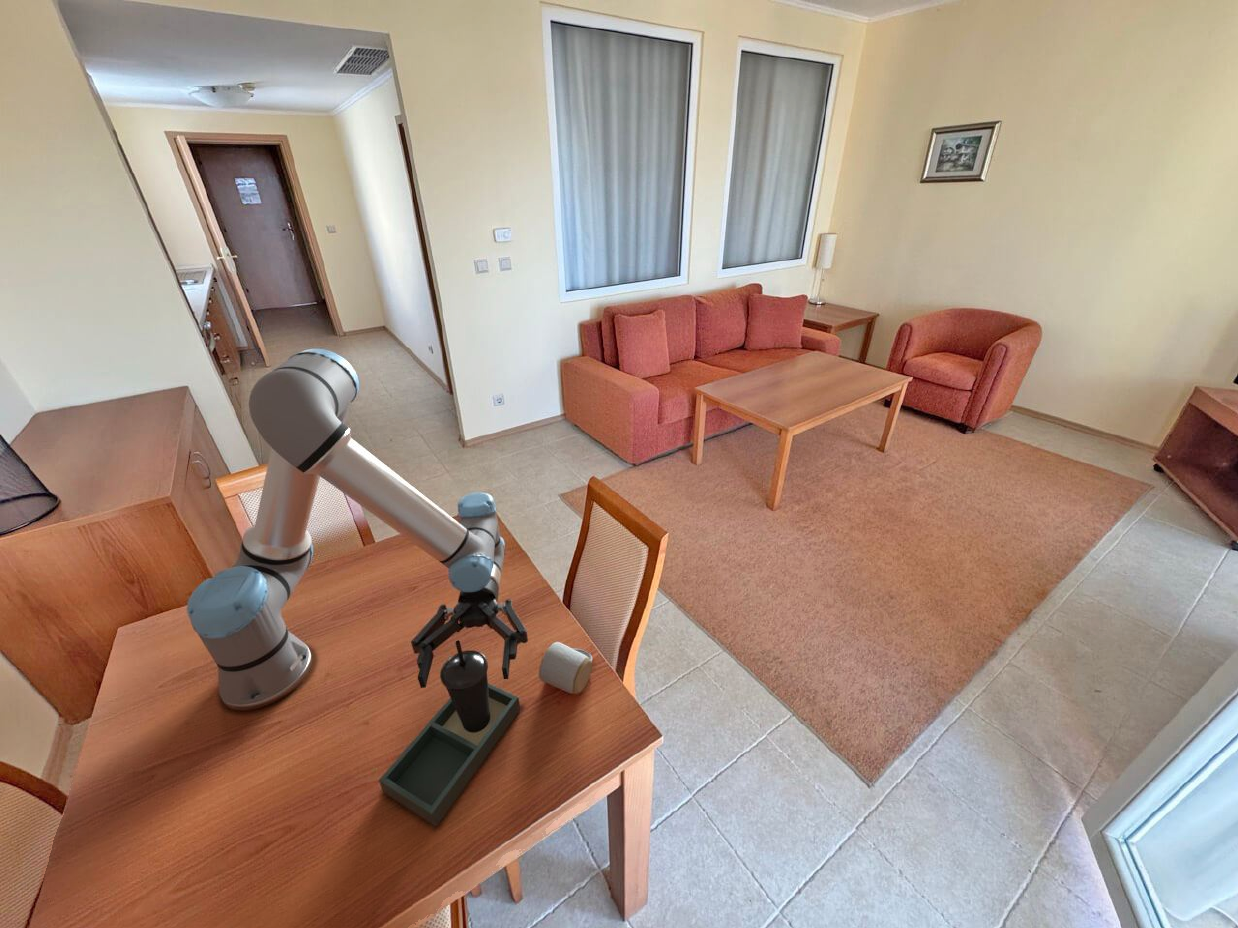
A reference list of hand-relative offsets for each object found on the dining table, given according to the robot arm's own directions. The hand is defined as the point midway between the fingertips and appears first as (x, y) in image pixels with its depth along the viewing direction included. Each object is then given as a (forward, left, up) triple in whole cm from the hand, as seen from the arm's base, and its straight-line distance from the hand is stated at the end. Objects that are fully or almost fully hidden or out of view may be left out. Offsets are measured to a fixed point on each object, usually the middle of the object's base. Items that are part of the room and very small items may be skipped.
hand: (463, 678), depth 82 cm
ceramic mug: (+10, +17, -13) cm, 23 cm away
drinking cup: (0, +1, -12) cm, 13 cm away
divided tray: (0, -4, -13) cm, 14 cm away
